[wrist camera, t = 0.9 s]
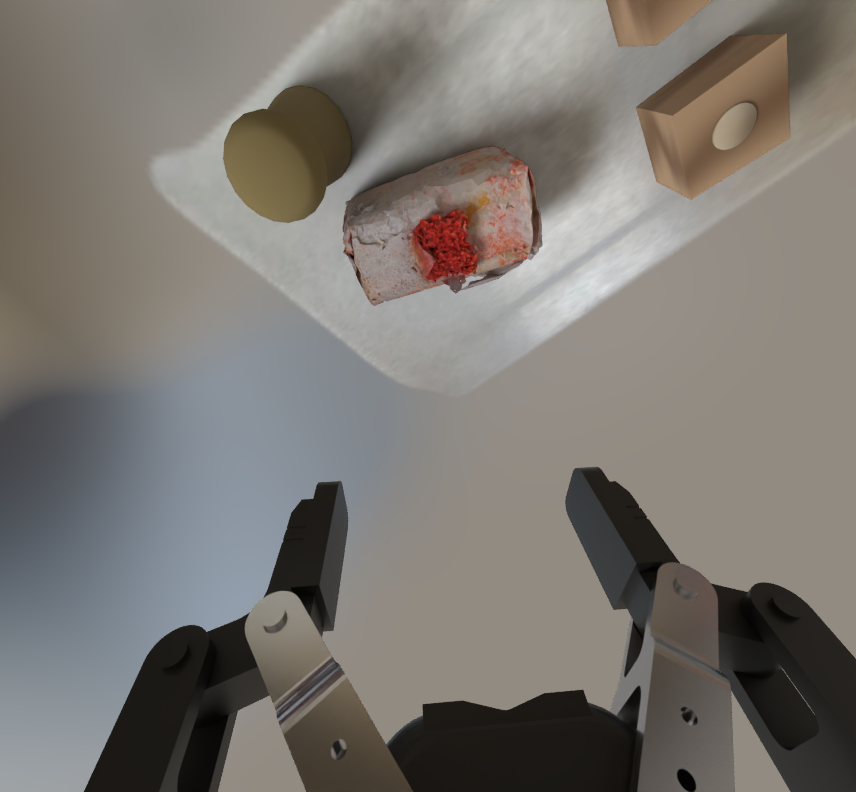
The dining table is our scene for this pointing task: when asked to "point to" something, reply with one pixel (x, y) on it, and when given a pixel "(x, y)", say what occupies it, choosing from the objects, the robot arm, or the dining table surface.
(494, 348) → the dining table surface
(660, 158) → the wooden block with button
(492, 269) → the food item
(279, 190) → the cork
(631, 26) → the plain wooden cube
